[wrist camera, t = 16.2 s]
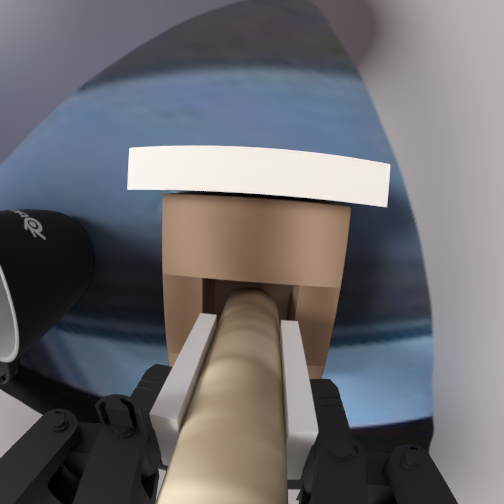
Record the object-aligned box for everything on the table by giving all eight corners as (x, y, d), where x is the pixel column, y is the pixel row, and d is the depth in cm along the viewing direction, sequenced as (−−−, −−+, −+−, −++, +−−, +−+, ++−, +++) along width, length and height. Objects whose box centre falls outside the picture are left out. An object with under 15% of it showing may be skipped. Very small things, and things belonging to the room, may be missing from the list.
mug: (115, 213, 18) (11, 239, 9) (104, 319, 21) (31, 388, 11) (19, 186, 18) (-65, 197, 8) (15, 275, 20) (-55, 310, 10)
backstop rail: (168, 187, 18) (127, 189, 12) (170, 158, 17) (129, 147, 12) (350, 200, 17) (386, 207, 12) (352, 170, 17) (390, 164, 11)
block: (187, 344, 20) (170, 379, 16) (186, 192, 18) (162, 194, 13) (309, 354, 20) (317, 392, 16) (331, 202, 18) (351, 207, 13)
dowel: (223, 332, 16) (149, 578, 2) (225, 284, 15) (114, 560, 2) (274, 337, 16) (275, 595, 2) (281, 289, 15) (305, 588, 1)
